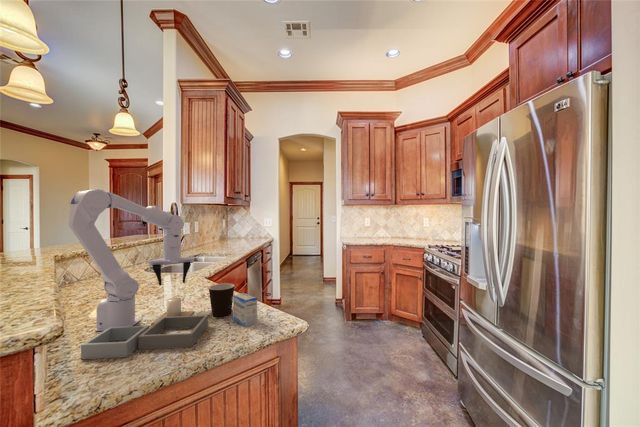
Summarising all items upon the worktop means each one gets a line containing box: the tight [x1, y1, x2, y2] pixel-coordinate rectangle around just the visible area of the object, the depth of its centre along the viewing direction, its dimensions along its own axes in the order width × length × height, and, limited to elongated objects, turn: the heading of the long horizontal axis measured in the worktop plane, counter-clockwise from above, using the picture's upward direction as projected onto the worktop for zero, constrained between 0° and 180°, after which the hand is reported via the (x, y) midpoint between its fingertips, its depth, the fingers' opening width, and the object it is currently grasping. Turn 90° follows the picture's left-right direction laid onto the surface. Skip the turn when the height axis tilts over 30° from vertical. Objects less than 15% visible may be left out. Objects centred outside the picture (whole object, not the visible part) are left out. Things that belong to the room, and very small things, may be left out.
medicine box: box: [232, 292, 258, 328], centre depth 90 cm, size 8×4×9 cm, turn 47°
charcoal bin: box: [137, 314, 209, 351], centre depth 79 cm, size 14×14×4 cm
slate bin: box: [80, 325, 150, 360], centre depth 73 cm, size 11×11×4 cm
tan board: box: [150, 310, 195, 326], centre depth 93 cm, size 10×10×1 cm
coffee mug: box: [208, 282, 235, 319], centre depth 98 cm, size 12×9×10 cm
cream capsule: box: [166, 297, 182, 317], centre depth 93 cm, size 4×4×6 cm
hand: (172, 283), depth 101 cm, fingers open, 7 cm apart
